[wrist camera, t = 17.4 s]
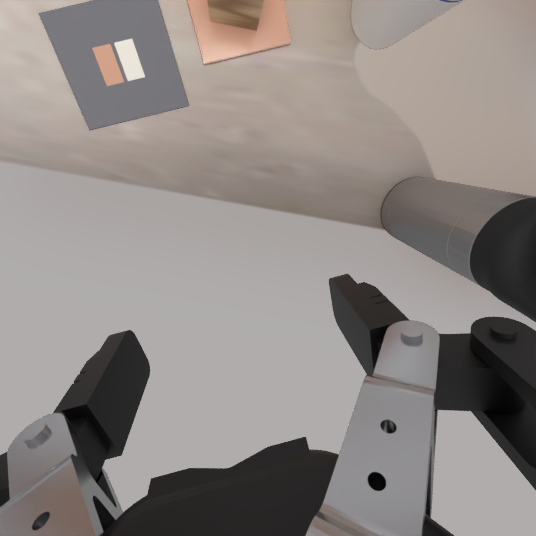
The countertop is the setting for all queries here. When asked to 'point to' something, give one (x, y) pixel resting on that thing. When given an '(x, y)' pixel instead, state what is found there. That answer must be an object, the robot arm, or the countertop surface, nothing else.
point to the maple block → (236, 12)
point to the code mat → (116, 59)
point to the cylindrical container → (393, 19)
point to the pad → (239, 32)
